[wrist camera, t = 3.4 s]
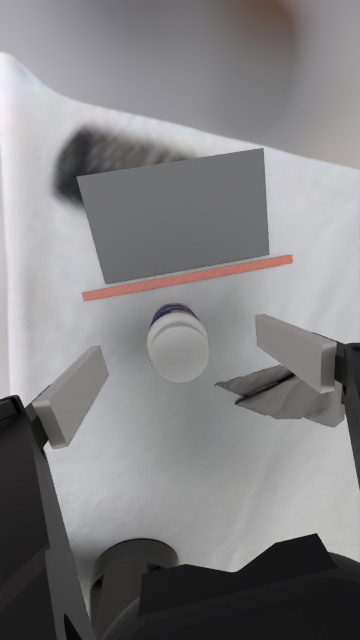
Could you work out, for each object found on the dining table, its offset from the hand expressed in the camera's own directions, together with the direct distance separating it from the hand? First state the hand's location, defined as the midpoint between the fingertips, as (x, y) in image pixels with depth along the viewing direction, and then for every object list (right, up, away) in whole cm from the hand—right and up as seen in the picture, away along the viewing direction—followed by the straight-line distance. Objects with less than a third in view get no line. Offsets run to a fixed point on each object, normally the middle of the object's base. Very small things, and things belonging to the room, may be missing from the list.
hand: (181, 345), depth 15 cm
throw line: (+1, +7, +7) cm, 10 cm away
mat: (0, +14, +6) cm, 15 cm away
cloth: (+18, -9, +13) cm, 24 cm away
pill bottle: (-1, +2, +9) cm, 9 cm away
